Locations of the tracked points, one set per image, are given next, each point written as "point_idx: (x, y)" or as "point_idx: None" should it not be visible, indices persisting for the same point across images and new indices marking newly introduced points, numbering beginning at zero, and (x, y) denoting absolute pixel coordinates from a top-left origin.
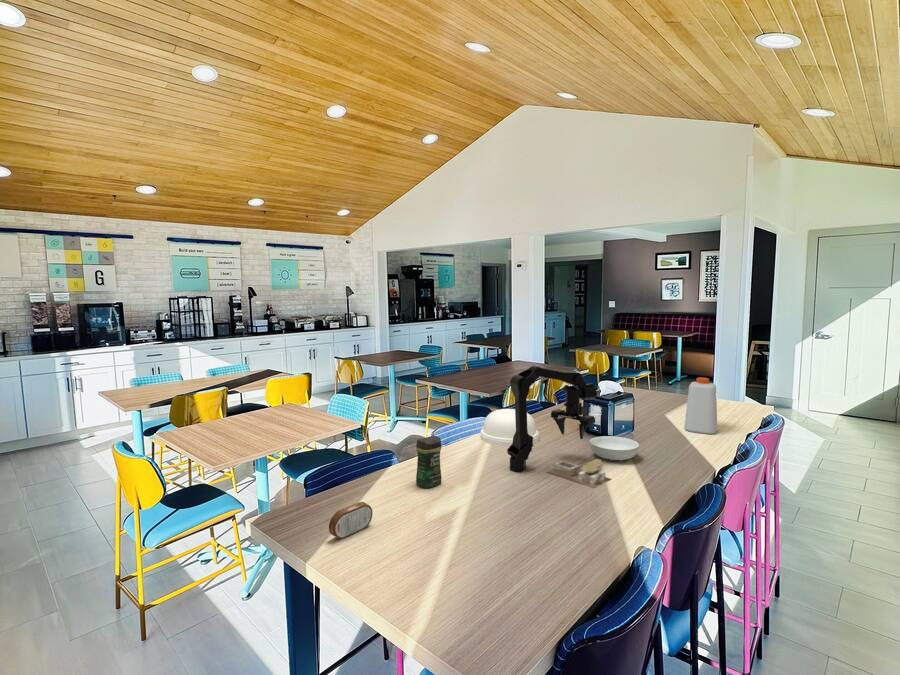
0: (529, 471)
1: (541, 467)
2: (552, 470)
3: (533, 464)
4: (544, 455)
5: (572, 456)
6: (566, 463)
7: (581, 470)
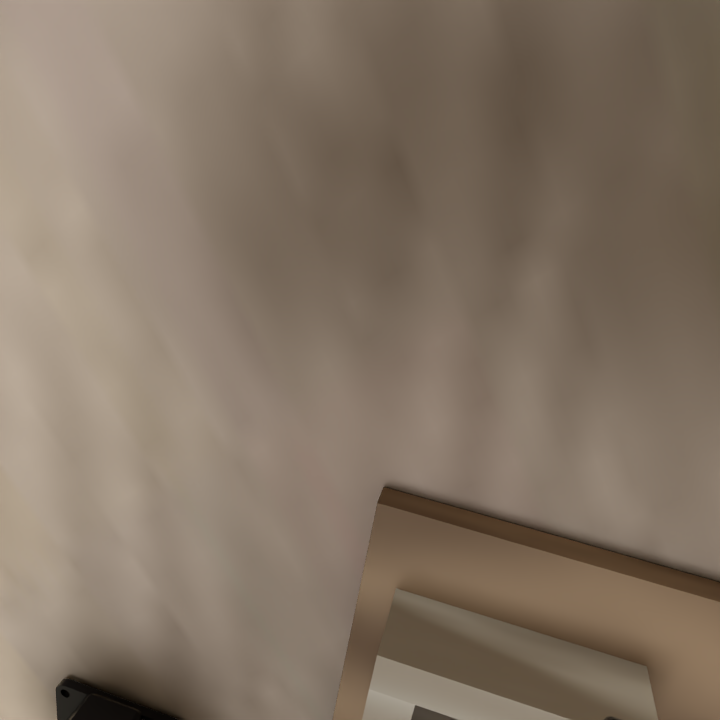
0: (185, 707)
1: (206, 590)
2: (352, 698)
3: (108, 549)
4: (11, 229)
5: (290, 9)
6: (463, 716)
7: (641, 596)
